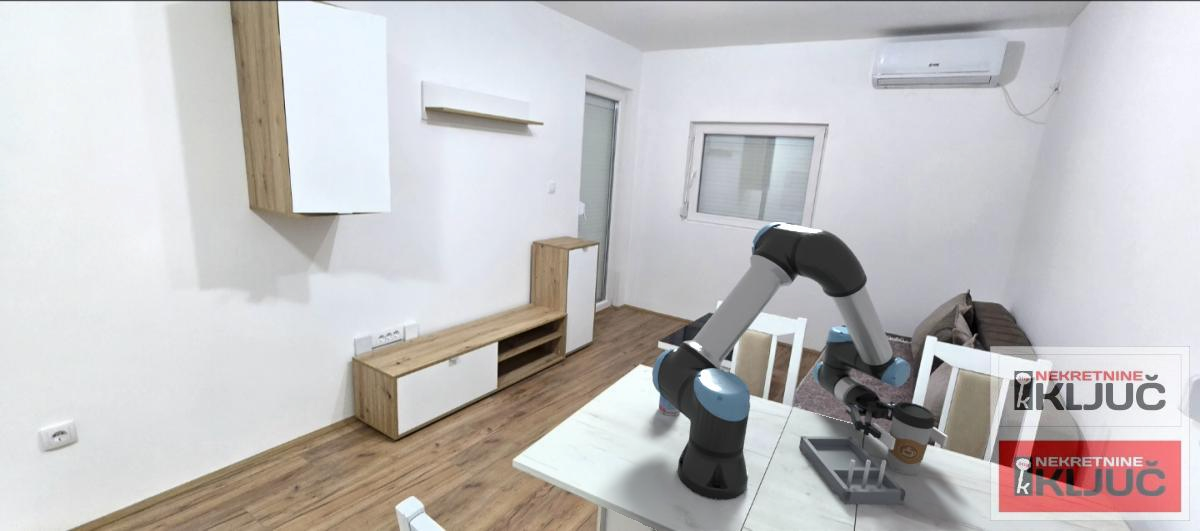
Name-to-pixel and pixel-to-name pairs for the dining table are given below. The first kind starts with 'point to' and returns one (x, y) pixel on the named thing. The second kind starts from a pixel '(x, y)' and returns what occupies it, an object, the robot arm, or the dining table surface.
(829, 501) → the dining table surface
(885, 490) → the dish rack
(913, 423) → the coffee cup
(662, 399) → the pill bottle
